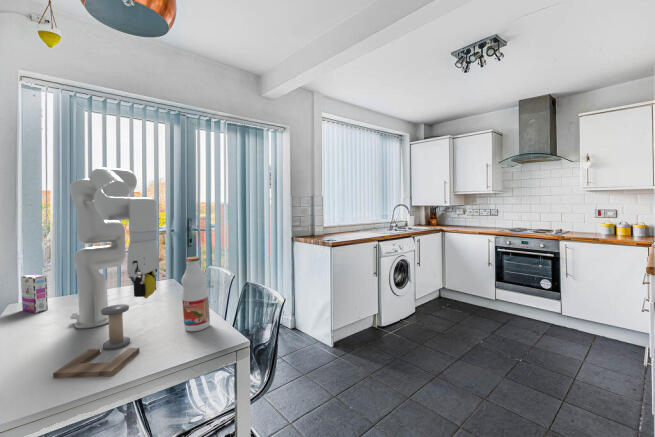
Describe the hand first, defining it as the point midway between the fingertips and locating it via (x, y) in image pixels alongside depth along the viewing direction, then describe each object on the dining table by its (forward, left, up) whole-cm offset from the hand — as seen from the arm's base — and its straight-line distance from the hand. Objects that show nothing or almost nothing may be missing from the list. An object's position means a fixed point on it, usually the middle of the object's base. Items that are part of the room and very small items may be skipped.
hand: (145, 292), depth 95 cm
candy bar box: (-76, +48, -21) cm, 93 cm away
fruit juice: (+7, +23, -21) cm, 32 cm away
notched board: (-13, -3, -21) cm, 25 cm away
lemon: (0, 0, -2) cm, 2 cm away
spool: (-16, +10, -21) cm, 28 cm away
